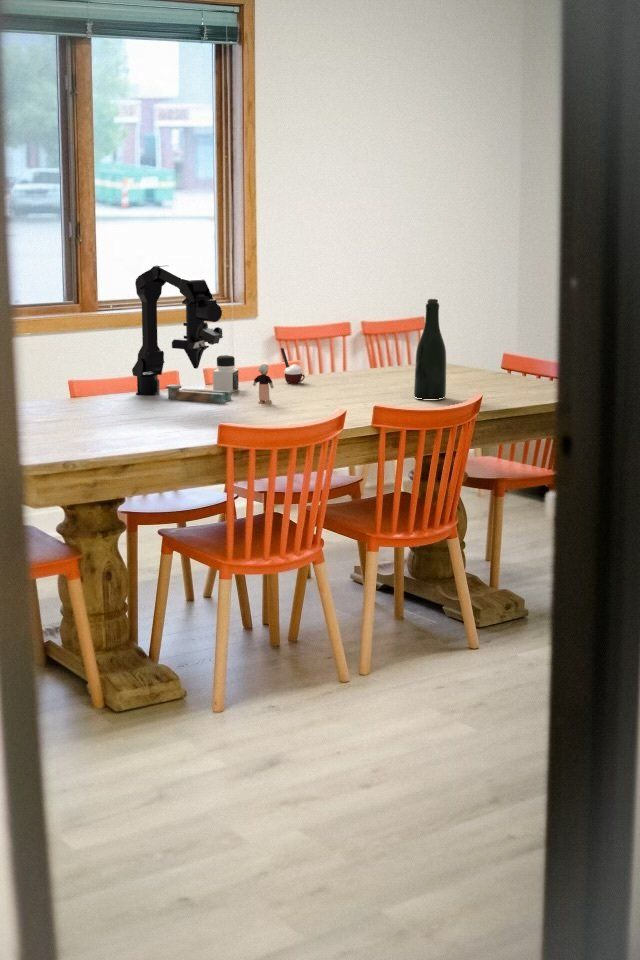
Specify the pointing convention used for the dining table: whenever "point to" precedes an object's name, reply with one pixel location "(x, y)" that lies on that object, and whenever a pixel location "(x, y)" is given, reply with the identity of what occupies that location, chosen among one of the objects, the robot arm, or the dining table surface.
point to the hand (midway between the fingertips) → (195, 368)
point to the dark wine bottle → (430, 357)
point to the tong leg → (200, 396)
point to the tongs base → (174, 388)
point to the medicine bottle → (225, 374)
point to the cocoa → (292, 371)
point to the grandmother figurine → (263, 384)
